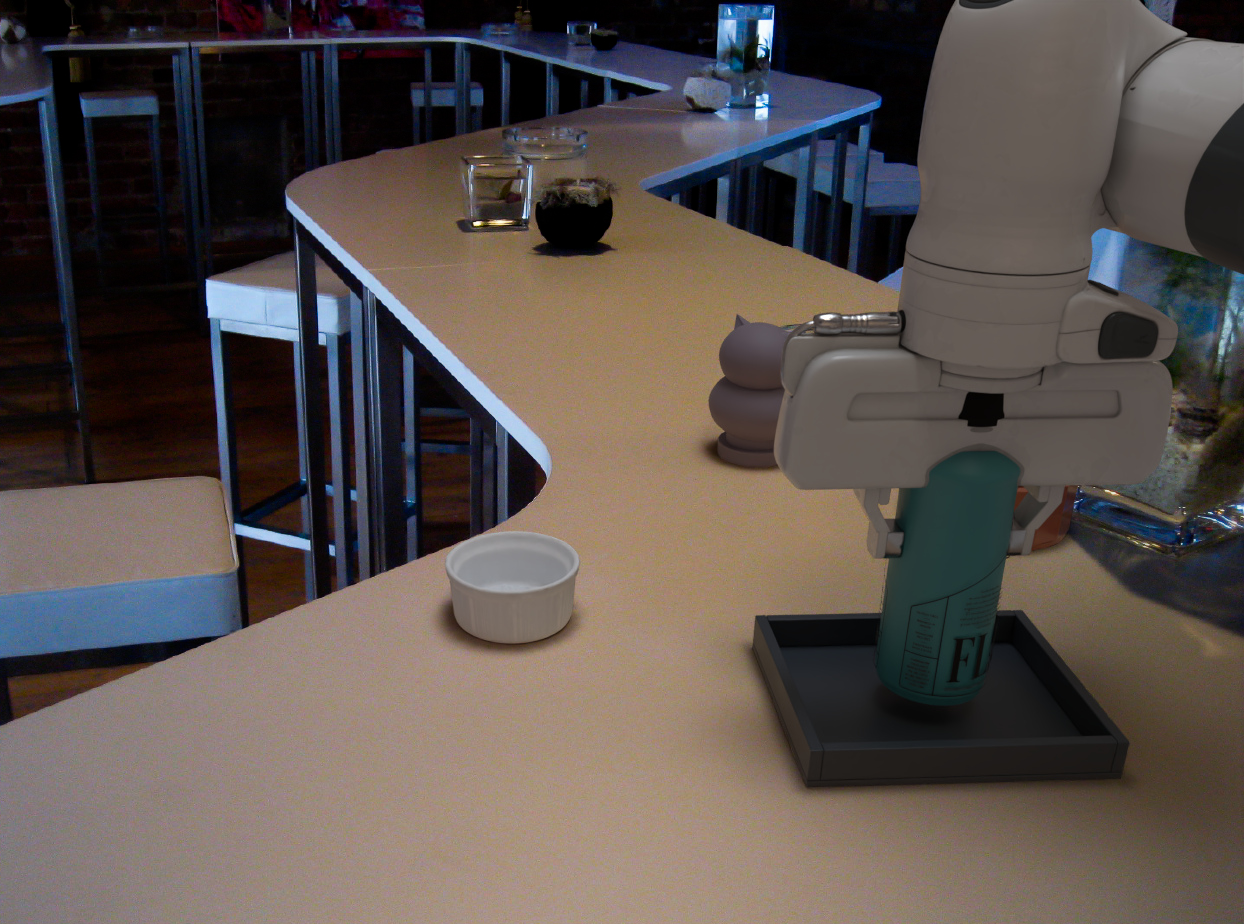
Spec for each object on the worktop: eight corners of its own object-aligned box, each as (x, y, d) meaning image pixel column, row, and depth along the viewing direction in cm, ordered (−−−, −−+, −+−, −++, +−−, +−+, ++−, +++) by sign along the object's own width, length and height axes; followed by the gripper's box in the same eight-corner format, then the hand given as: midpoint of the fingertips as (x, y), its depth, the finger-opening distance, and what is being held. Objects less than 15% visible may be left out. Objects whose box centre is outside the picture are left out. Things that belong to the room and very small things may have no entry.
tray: (1015, 642, 79) (1022, 609, 78) (1121, 780, 66) (1130, 742, 65) (751, 648, 78) (755, 614, 77) (806, 789, 65) (810, 750, 64)
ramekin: (476, 662, 76) (475, 602, 74) (428, 600, 84) (425, 544, 82) (601, 632, 80) (603, 574, 78) (544, 575, 87) (545, 520, 85)
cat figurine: (686, 450, 109) (693, 320, 104) (744, 430, 113) (754, 304, 108) (759, 480, 103) (771, 343, 98) (817, 457, 108) (831, 325, 102)
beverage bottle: (942, 744, 68) (1000, 406, 59) (844, 694, 72) (885, 373, 64) (1004, 701, 72) (1067, 378, 63) (907, 656, 76) (954, 349, 68)
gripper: (800, 331, 58) (776, 583, 64) (1212, 326, 59) (1151, 575, 65) (772, 296, 64) (752, 531, 70) (1148, 293, 65) (1097, 525, 71)
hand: (947, 553), depth 68 cm, fingers closed on beverage bottle, 6 cm apart
